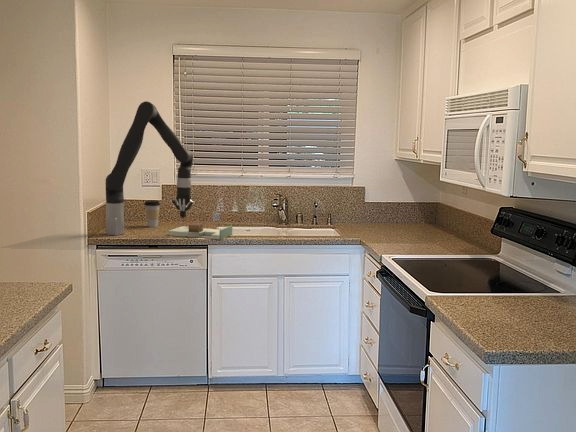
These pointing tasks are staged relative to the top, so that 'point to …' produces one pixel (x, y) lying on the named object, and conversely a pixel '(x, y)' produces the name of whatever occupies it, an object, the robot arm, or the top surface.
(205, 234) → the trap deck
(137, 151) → the robot arm
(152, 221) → the coffee cup
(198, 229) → the walnut block
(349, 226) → the top surface
